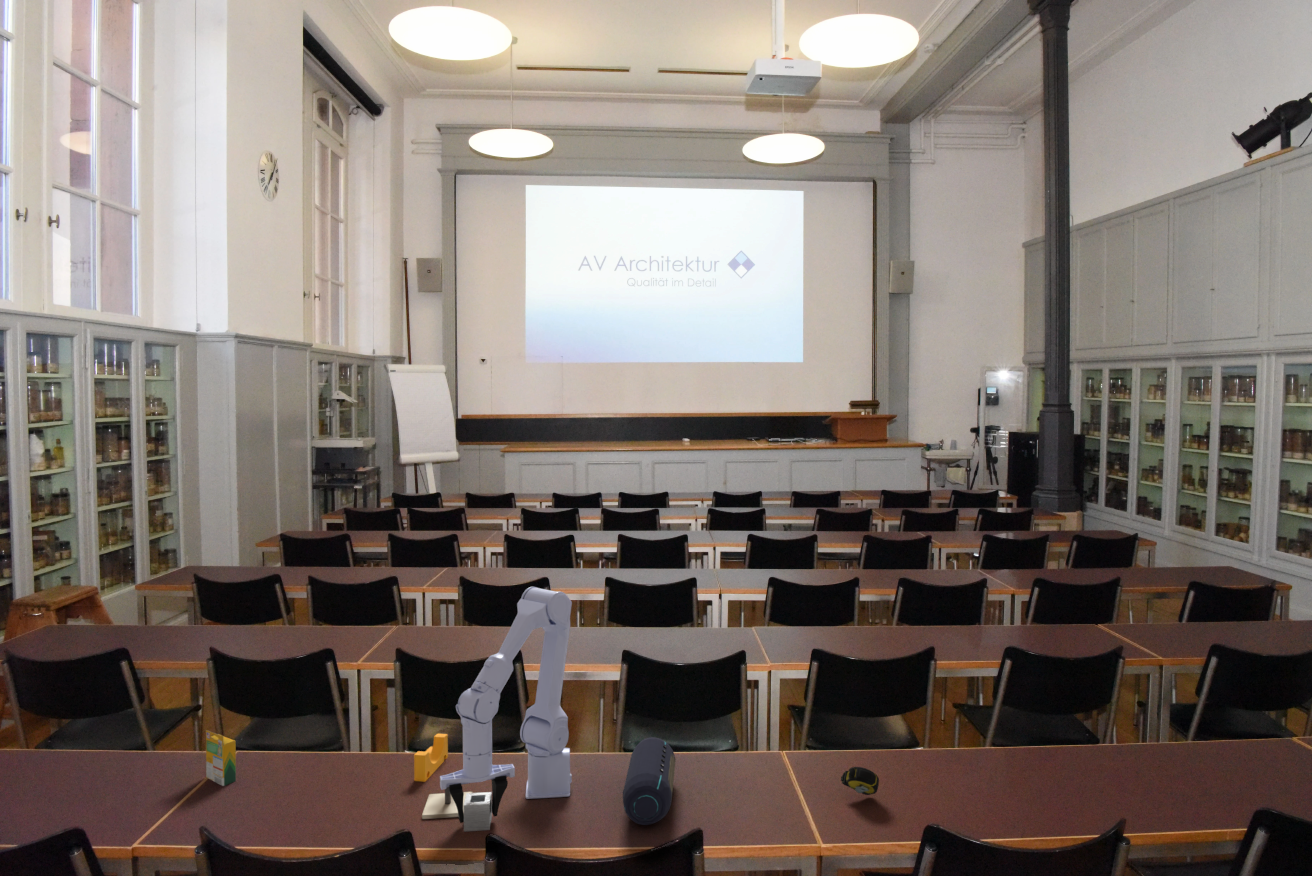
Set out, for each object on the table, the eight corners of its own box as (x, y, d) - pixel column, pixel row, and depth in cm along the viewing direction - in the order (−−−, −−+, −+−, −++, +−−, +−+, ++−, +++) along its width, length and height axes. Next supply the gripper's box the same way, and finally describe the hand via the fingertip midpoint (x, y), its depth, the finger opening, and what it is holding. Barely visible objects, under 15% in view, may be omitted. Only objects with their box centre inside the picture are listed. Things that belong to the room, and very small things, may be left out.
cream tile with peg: (472, 795, 168) (472, 772, 168) (467, 816, 159) (467, 792, 159) (429, 797, 167) (429, 774, 167) (422, 819, 158) (421, 794, 158)
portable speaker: (670, 833, 153) (670, 783, 153) (620, 831, 153) (620, 781, 153) (676, 775, 178) (676, 732, 178) (632, 774, 179) (632, 730, 178)
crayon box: (236, 783, 174) (236, 732, 174) (223, 789, 171) (222, 736, 171) (219, 775, 178) (218, 725, 178) (205, 781, 175) (204, 729, 175)
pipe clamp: (430, 759, 186) (430, 733, 186) (447, 761, 186) (447, 734, 186) (407, 782, 175) (406, 754, 174) (425, 784, 174) (425, 755, 174)
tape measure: (868, 801, 168) (871, 784, 170) (882, 793, 162) (885, 776, 165) (838, 787, 168) (842, 770, 170) (852, 779, 163) (855, 762, 165)
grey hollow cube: (491, 817, 159) (491, 791, 159) (489, 829, 154) (489, 803, 154) (466, 818, 158) (466, 793, 158) (463, 831, 153) (463, 805, 153)
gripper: (509, 736, 162) (510, 801, 163) (437, 748, 157) (438, 814, 157) (516, 750, 156) (517, 817, 156) (442, 762, 150) (442, 831, 151)
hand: (478, 817), depth 156 cm, fingers closed on grey hollow cube, 6 cm apart
